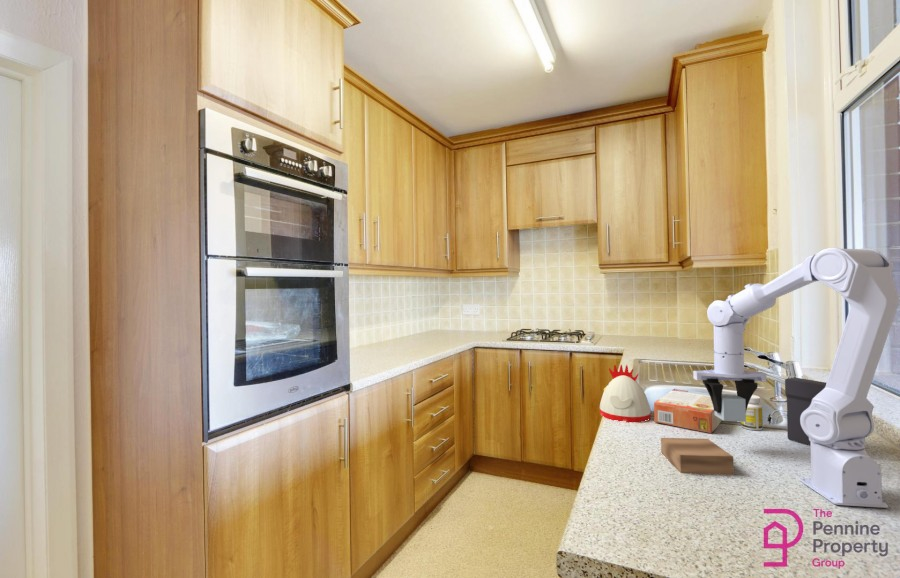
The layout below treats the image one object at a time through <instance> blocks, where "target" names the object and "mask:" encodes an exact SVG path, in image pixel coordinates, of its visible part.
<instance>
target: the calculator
mask: <svg viewBox="0 0 900 578" xmlns="http://www.w3.org/2000/svg"><path fill="white" fill-rule="evenodd" d="M826 383H827V381H826V382H825V381H818V380H812V379H806V378H801V377H789V378H785V379H784V393H785V396H786V420H787V421H786V422H787V423H786V425H787V428H786V429H787V431H786V432H787V439H788V440H789V441H793V442H795V443H799V444H802V445H806V446H809V447H811V441H809V437H808V436H807V435H806V433H805V432H804V431H803V429H802V427H801V423H800V417H801V414H802V413H803V411H804V410H806V409H807V408H808V407H809V406H810V405H811V402H812V399H813V398H814V397H815V396H816V395H817V394H818V393H820V392H821V391H822V390H823V389H824V388H825V386H826Z"/></svg>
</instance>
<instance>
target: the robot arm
mask: <svg viewBox="0 0 900 578" xmlns="http://www.w3.org/2000/svg"><path fill="white" fill-rule="evenodd" d="M894 267H895V265H894V263H893V262H892V261H890V260H889V258H887V257H886V255H884V254H883V253H881V252H880V251H878V250H877V249H874V248H864V247H863V248H839V247H828V248H824V249H822V250H820V251H819V252H817V253H816V254H812V255H810V256H807V257H805V259H804V260H803V261H802V262H800V263H799V264H797V265H795V266H793V267H792V268H791V269H789V270H787V271H786V272H784V273H782V274H780V275H779V276H777V277H776V278H774V279H772V280H770V281H769V282H767V283H766V284H763V283H758V282H757V283H748V284H746V285H744V288H745V289H743V290H740V291H739V292H737V293H735V294H730V295H728V296H727V298H726V299H725V300H720V299H719V300H718V299H717V300H714V301H713V302H711V303H710V304H709V306H708V307H707V312H706V314H707V315H706V317H707V319H708V321H709V322H710V324H712V325H713V328H712V329H713V369H706V370H705V369H703V370H693V371H692V373H693V377H692V378H693V380H695V381H699V382H700V381H702V383H703V385H704V387H705V389H706V391H707V394H709V395H710V397H711V400H712V404H713V408H714V411H716V412H718V413H721V410H722V402H721V397H722V394H723V388H724V385H723V384H722V383H721V381H734V384H735V389H736V395H737V396H740V397H742V398H744V399H745V403H746V410H747V406H748V403H749V401H750V398H751V396H752V395H754V393H755V392H756V391H757V389H758V386H759V385H758V383H757V382H763V383H765V382H767V372H764V371H755V370H754V371H752V370H751V371H750V370H745V353H744V352H745V351H744V350H745V348H744V347H745V346H744V332H745V331H746V324H747V323H748V322H749V319H750V318H752V317H754V316H756V315H758V314H760V313H763V312H765V311H766V310H768V309H771V308H773V307H774V306H775V305H776V301H777V299H778V298H779V297H783V296H785V295H787V294H789V293H791V292H794V291H797V290H798V289H801V288H804V287H805V286H807V285H810V284H813V283H816V282H820V283H822V284H823V285H825V286H826V287H829V288H830V289H831V290H834V291H835V292H837V293H838V294H840V296H842V298H843V299H844V300H845V301H846V302H847V303H848V304H849V305H850V307H849V310H848V311H849V312H848V314H847V317H846V320H845V323H844V327H843V329H842V332H841V337H840V339H839V343H838V345H837V349H836V352H835V356H834V359H833V361H832V365H831V369H830V370H829V374H828V377H827V381H826V386H825V388H824V389H823V390H822V391H821V392H820V393H818V394H817V395H816V396H815V397H814V398H813V399H812V402H811V405H810V406H809V407H808V408H807V409H806V410H804V411H803V413H802V414H801V417H800V423H801V427H802V429H803V431H804V432H805V433H806V435H807V436H808V437H809V441H811V446H810V478H809V477H799V479H798V480H799V481H800V482H801V483H803V484H804V485H806V486H807V487H808V488H810V489H812V490H813V491H815V492H817V494H818V495H821V496H822V497H824V498H825V499H826V500H827V501H829V502H830V503H832V504H834V505H837V506H848V507H851V506H852V507H867V508H885V509H888V508H889V505H888V504H887V503H886V502H884V501H883V486H882V484H883V482H882V481H883V479H882V478H883V477H882V470H881V469H882V468H881V467H880V464H878V462H877V461H875V460H874V459H873V458H871V457H870V455H869V454H868V453H867V452H866V448H865V447H866V446H865V445H866V438H868V437H870V436H871V435H872V433H873V432H874V429H875V422H874V420H873V411H874V408H875V406H874V404H873V403H871V401H870V400H869V399H868V398H867V397H868V394H869V391H870V389H871V386H872V383H873V380H874V377H875V374H876V371H877V369H878V365H879V363H880V360H881V357H882V354H883V352H884V351H883V350H884V348H885V345H886V342H887V340H888V336H889V333H890V330H891V327H892V324H893V322H894V319H895V316H896V312H897V311H898V307H899V304H900V297H899V294H898V290H897V288H896V284H895V281H894V277H893V275H892V272H893V269H894Z"/></svg>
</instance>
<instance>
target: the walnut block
mask: <svg viewBox="0 0 900 578" xmlns="http://www.w3.org/2000/svg"><path fill="white" fill-rule="evenodd" d="M661 453H662V454H663V455H664V456H665V457H666V458H665V457H664V456H663V455H662V454H661ZM660 454H661V455H662V456H663V457H664V458H665V460H667V459H668V460H667V461H668V462H669V463H670V464H671V465H672V466H673V467H674V468H675V469H676V470H677V471H678V472H679V473H680V474H690V473H692V475H693V474H694V475H695V474H696V475H697V474H699V475H720V476H721V475H725V476H727V475H728V476H729V475H730V476H733V475H734V471H735V470H734V456H733V455H731V454H730V453H729V452H727V451H726V450H724V449H723V448H722V447H721V446H719V445H718V444H717V443H715V442H713V441H711V440H710V439H709V438H694V437H693V438H692V437H691V438H688V437H687V438H685V437H681V438H680V437H678V438H677V437H660Z"/></svg>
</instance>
